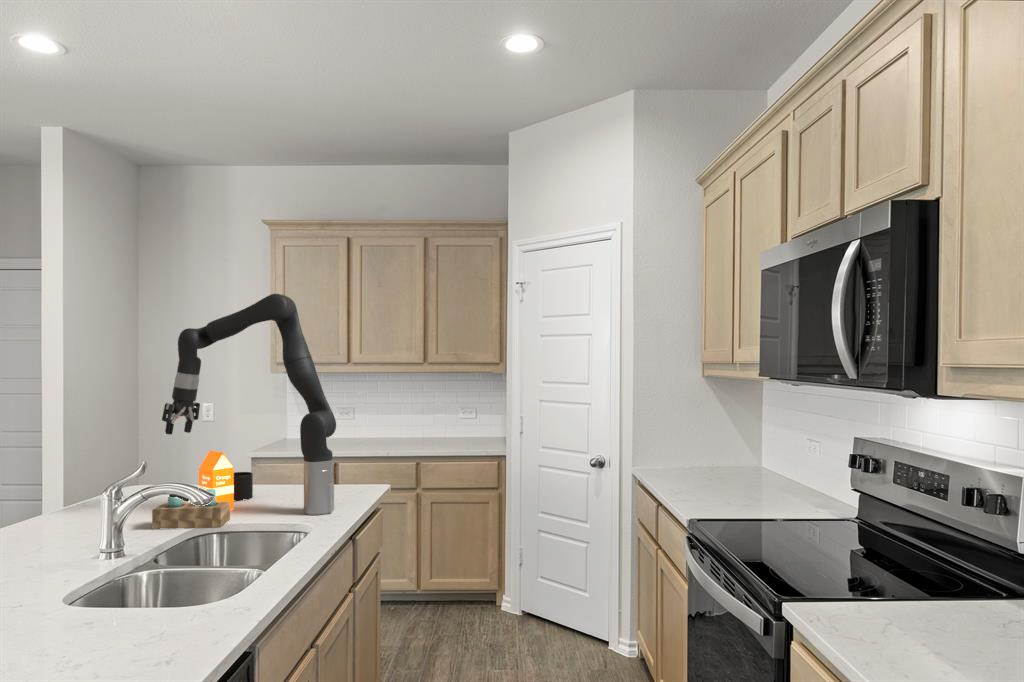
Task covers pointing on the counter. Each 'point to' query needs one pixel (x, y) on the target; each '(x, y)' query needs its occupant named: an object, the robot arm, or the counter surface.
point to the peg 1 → (174, 502)
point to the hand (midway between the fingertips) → (178, 433)
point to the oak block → (191, 516)
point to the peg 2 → (214, 498)
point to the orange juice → (218, 476)
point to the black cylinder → (243, 485)
